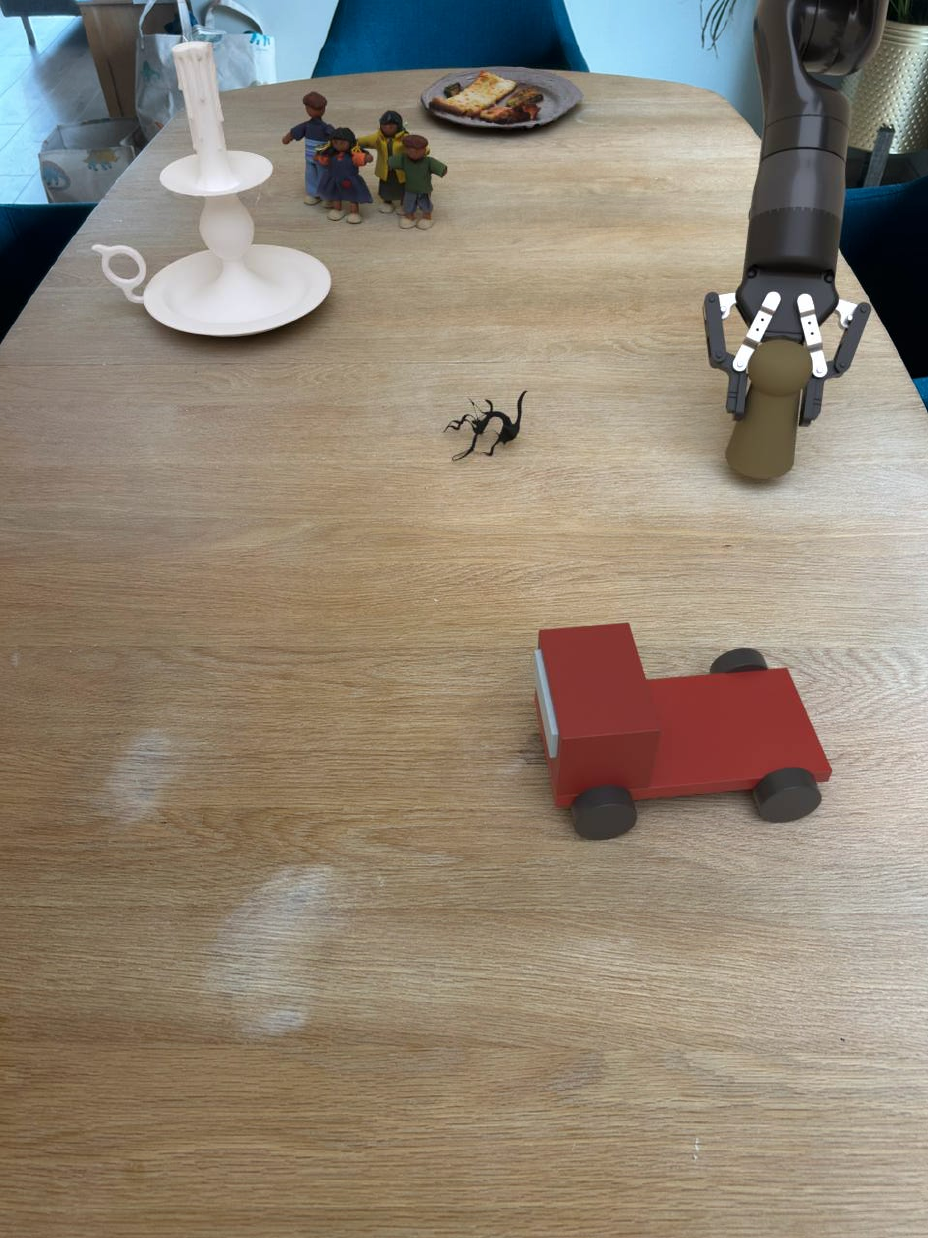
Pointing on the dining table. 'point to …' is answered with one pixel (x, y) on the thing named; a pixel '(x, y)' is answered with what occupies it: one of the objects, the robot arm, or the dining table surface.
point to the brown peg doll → (770, 410)
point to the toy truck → (668, 731)
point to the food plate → (501, 97)
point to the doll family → (340, 158)
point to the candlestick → (221, 232)
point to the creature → (507, 430)
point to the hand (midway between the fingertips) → (771, 421)
